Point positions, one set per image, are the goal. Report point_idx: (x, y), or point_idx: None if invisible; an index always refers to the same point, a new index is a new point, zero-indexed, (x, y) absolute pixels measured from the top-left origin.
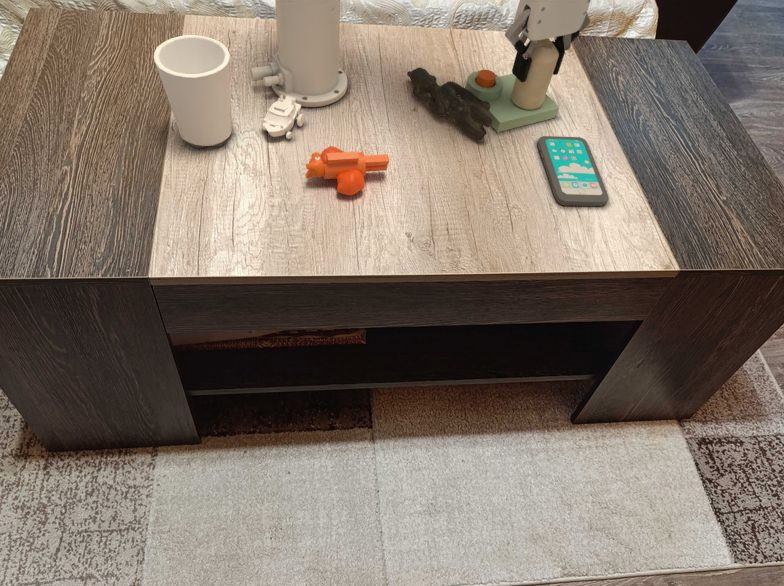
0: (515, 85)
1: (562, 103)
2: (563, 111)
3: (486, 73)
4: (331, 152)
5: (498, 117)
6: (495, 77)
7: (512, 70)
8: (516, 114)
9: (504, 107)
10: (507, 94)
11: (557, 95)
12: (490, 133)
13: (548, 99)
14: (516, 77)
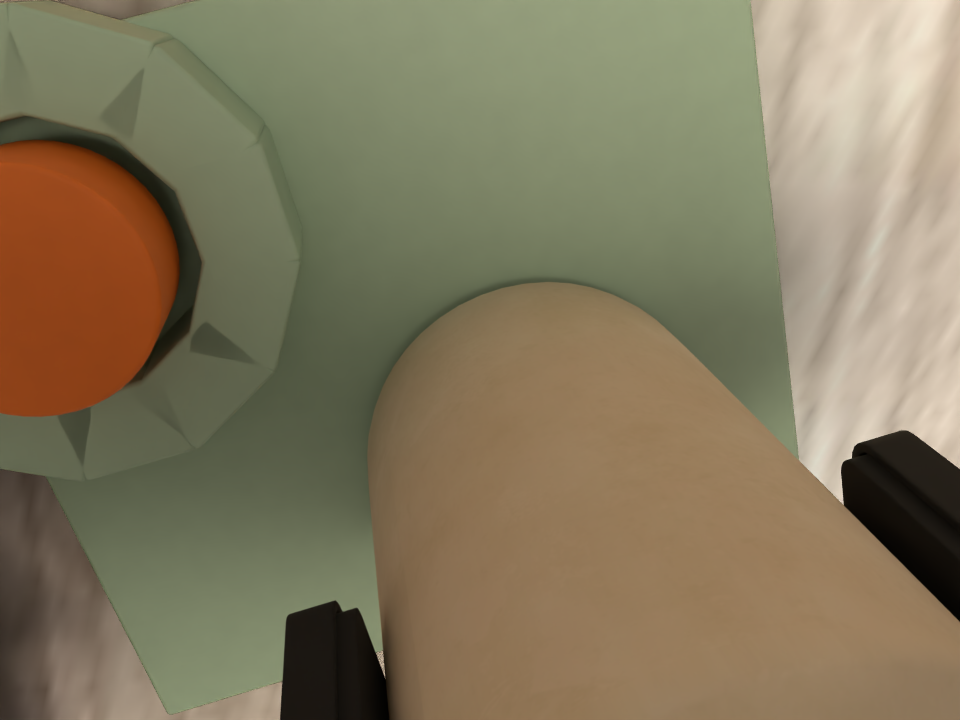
0: (374, 540)
1: (915, 289)
2: (864, 395)
3: (14, 270)
4: None
5: (166, 660)
6: (145, 358)
7: (291, 625)
8: (361, 614)
9: (266, 526)
10: (360, 328)
11: (937, 169)
12: (119, 652)
13: (765, 408)
14: (382, 553)
